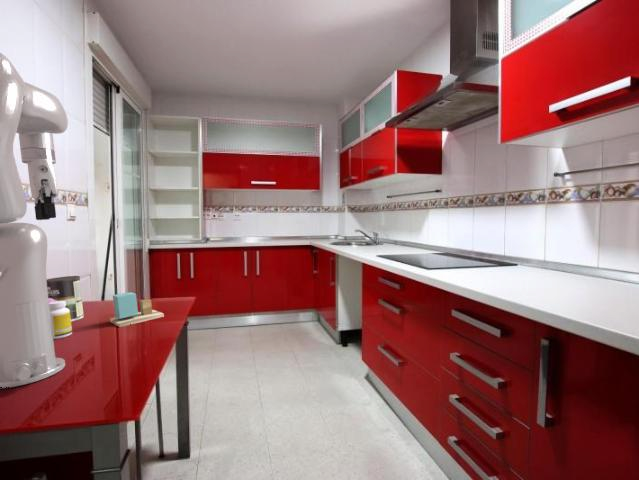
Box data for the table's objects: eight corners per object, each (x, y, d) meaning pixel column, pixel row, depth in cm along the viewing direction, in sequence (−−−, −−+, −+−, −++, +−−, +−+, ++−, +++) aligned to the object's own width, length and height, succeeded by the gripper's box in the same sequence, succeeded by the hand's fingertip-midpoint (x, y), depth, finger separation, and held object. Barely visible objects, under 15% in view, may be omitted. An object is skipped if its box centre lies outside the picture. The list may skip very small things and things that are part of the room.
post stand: (163, 316, 116) (161, 292, 115) (119, 327, 107) (116, 300, 106) (152, 312, 123) (150, 289, 122) (110, 321, 114) (107, 296, 113)
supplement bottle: (77, 332, 104) (73, 299, 103) (61, 339, 98) (57, 304, 98) (59, 333, 104) (56, 300, 104) (43, 339, 99) (39, 305, 98)
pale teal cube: (138, 314, 112) (136, 293, 112) (119, 318, 109) (117, 297, 108) (132, 312, 116) (130, 292, 116) (114, 316, 113) (112, 295, 112)
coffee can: (62, 324, 114) (57, 281, 113) (39, 324, 117) (34, 281, 116) (91, 315, 124) (87, 275, 123) (69, 315, 127) (64, 275, 126)
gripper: (61, 153, 96) (68, 216, 97) (50, 163, 108) (56, 219, 109) (25, 150, 91) (33, 218, 92) (17, 161, 103) (25, 220, 104)
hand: (45, 218), depth 101 cm, fingers open, 9 cm apart
